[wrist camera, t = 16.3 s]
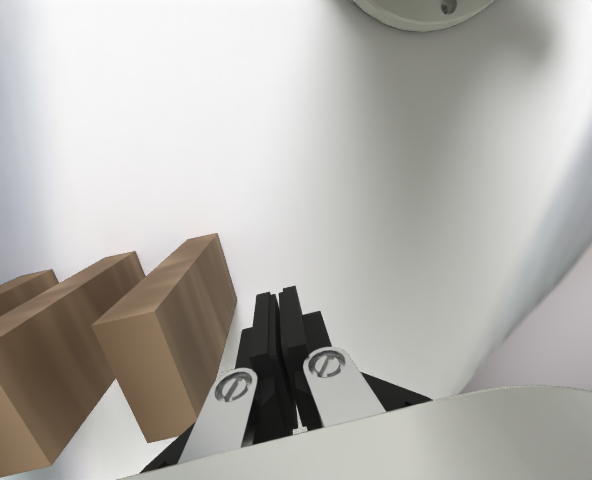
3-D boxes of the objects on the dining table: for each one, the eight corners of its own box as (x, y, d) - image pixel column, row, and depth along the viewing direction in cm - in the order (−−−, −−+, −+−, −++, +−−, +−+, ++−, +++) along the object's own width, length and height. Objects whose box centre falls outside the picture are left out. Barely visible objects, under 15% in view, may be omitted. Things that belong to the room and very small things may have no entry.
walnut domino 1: (135, 250, 18) (-22, 350, 9) (161, 316, 20) (51, 465, 10) (105, 257, 18) (-87, 365, 8) (132, 322, 19) (-4, 478, 10)
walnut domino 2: (217, 233, 18) (154, 311, 9) (237, 299, 20) (201, 430, 10) (187, 239, 18) (91, 325, 9) (209, 305, 20) (147, 443, 10)
